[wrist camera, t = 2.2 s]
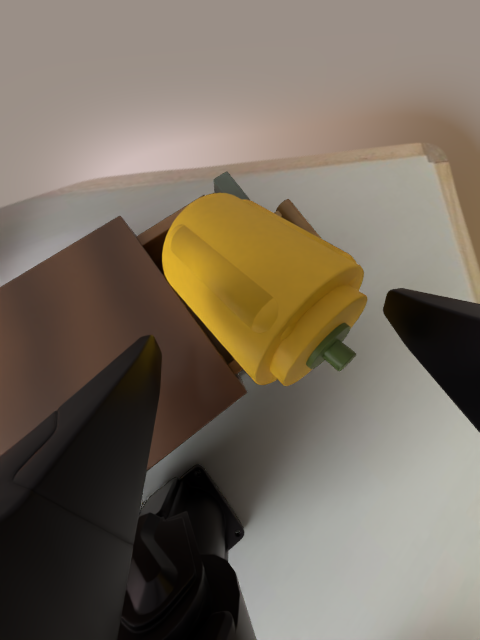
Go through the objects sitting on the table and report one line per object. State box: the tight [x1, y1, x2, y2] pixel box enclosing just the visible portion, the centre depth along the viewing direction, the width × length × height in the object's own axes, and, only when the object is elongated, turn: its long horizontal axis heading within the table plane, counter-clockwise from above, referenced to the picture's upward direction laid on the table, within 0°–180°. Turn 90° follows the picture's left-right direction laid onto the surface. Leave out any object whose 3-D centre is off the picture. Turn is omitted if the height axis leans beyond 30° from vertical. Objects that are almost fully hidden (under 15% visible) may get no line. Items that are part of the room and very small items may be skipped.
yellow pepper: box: [162, 193, 367, 386], centre depth 11 cm, size 7×7×10 cm
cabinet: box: [0, 216, 247, 471], centre depth 16 cm, size 16×13×8 cm
